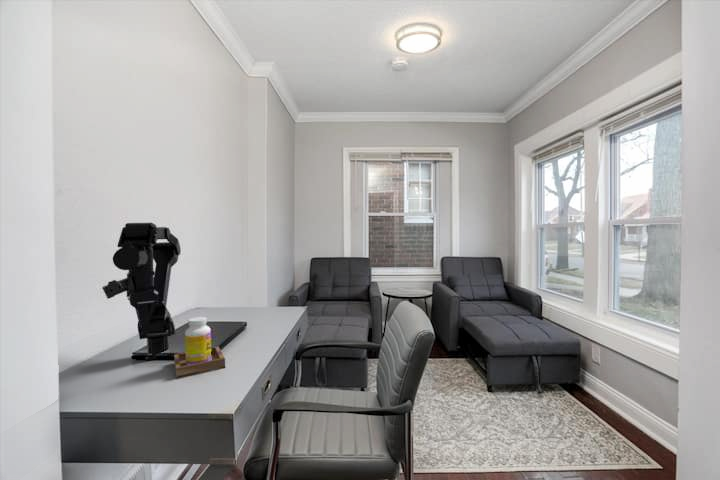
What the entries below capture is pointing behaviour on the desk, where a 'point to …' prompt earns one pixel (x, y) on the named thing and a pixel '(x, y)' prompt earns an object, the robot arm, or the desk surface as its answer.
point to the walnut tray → (198, 364)
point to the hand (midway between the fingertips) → (142, 324)
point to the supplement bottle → (198, 341)
